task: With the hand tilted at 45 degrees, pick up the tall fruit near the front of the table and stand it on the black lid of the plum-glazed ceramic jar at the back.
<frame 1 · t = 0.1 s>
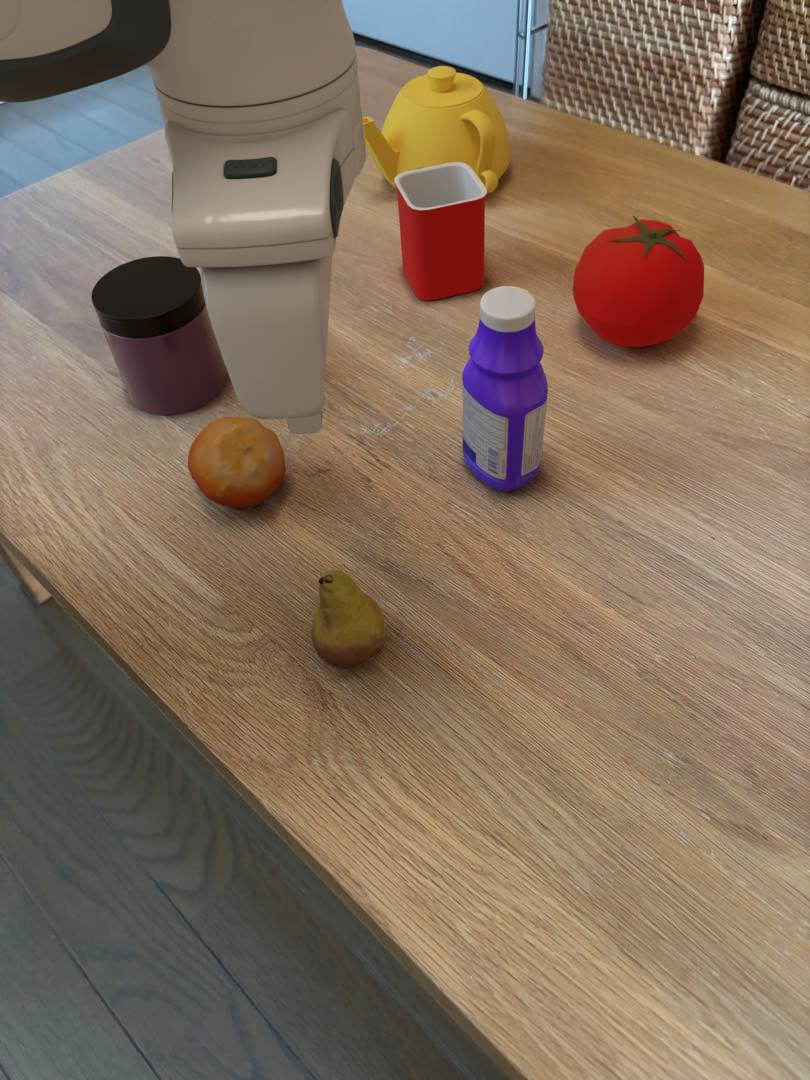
hand: (311, 369, 50), 23 cm above the table, tool pointing down, fingers open, 8 cm apart
jar lid: (147, 290, 79), point 11 cm above the table, screwed on, not yet turned
fruit 2: (352, 650, 65), on the table
mug: (437, 269, 97), on the table
jar: (178, 381, 87), on the table
teapot: (438, 184, 109), on the table
tomato: (630, 328, 88), on the table
fruit: (245, 493, 76), on the table
bottle: (501, 470, 76), on the table
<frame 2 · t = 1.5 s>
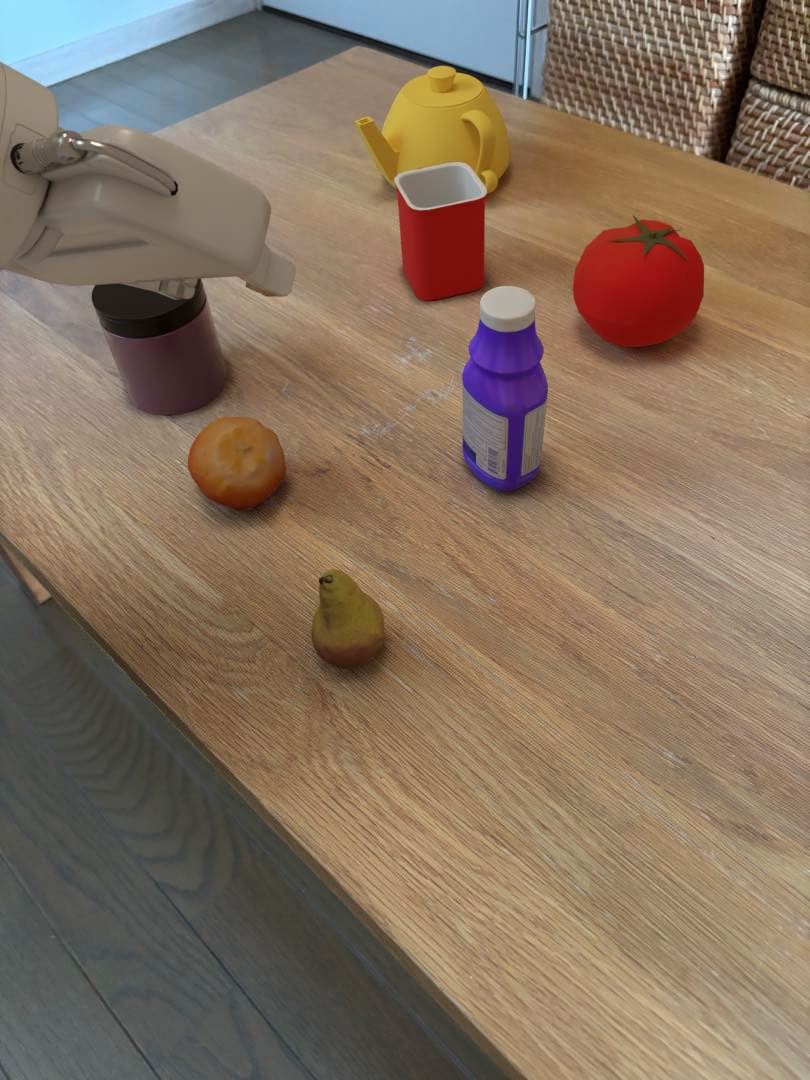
hand: (234, 285, 48), 28 cm above the table, tool tilted 45°, fingers open, 8 cm apart
nothing on the table moved.
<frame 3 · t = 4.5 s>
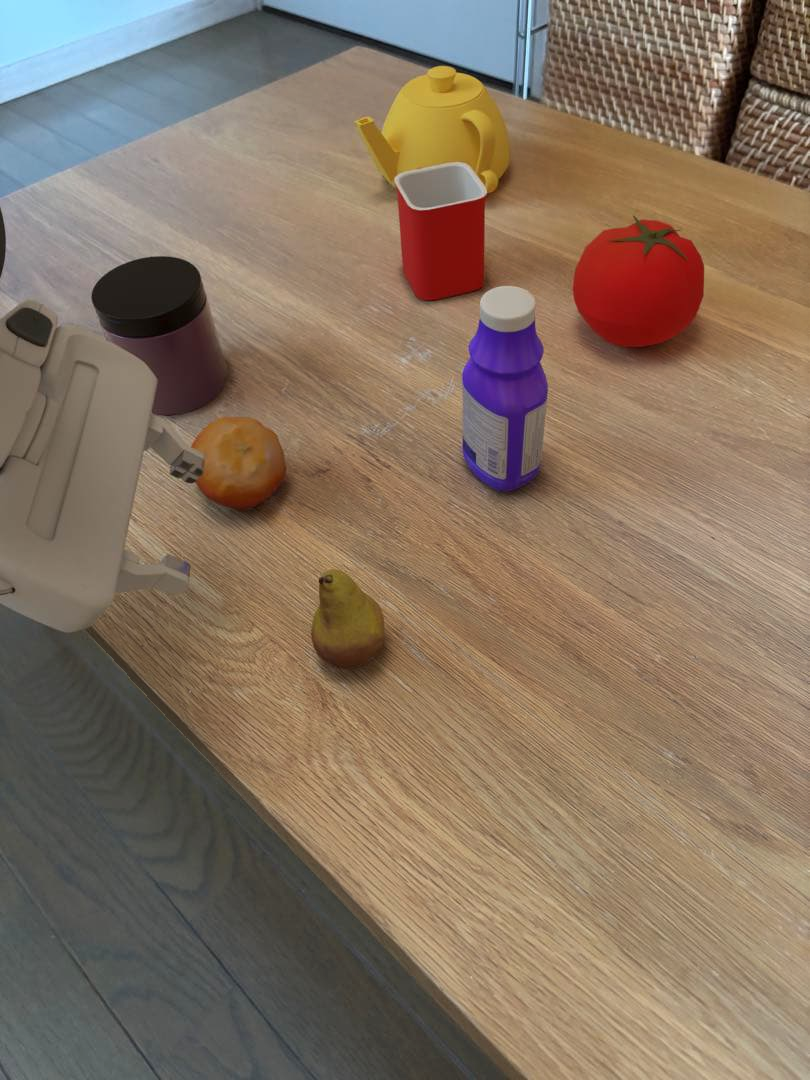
hand: (193, 523, 56), 14 cm above the table, tool tilted 45°, fingers open, 8 cm apart
nothing on the table moved.
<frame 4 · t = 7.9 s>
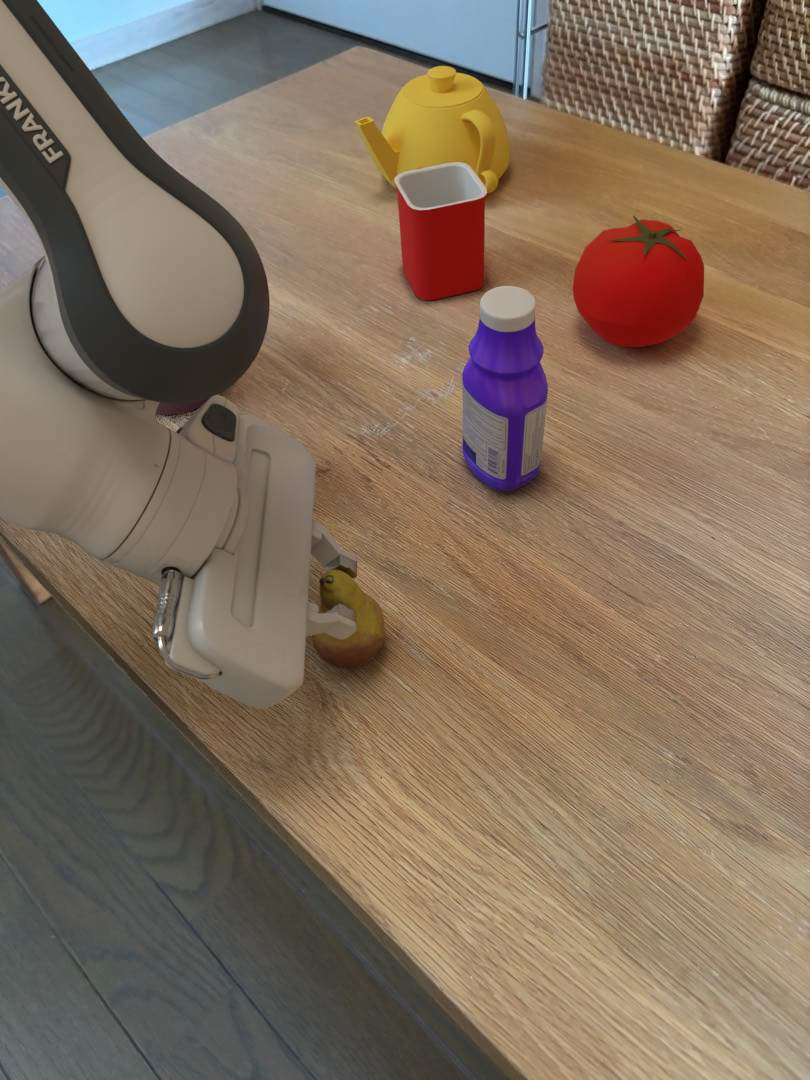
hand: (351, 598, 60), 6 cm above the table, tool tilted 45°, fingers closed on fruit 2, 3 cm apart
fruit 2: (352, 650, 65), on the table, touching gripper
everything else where it was.
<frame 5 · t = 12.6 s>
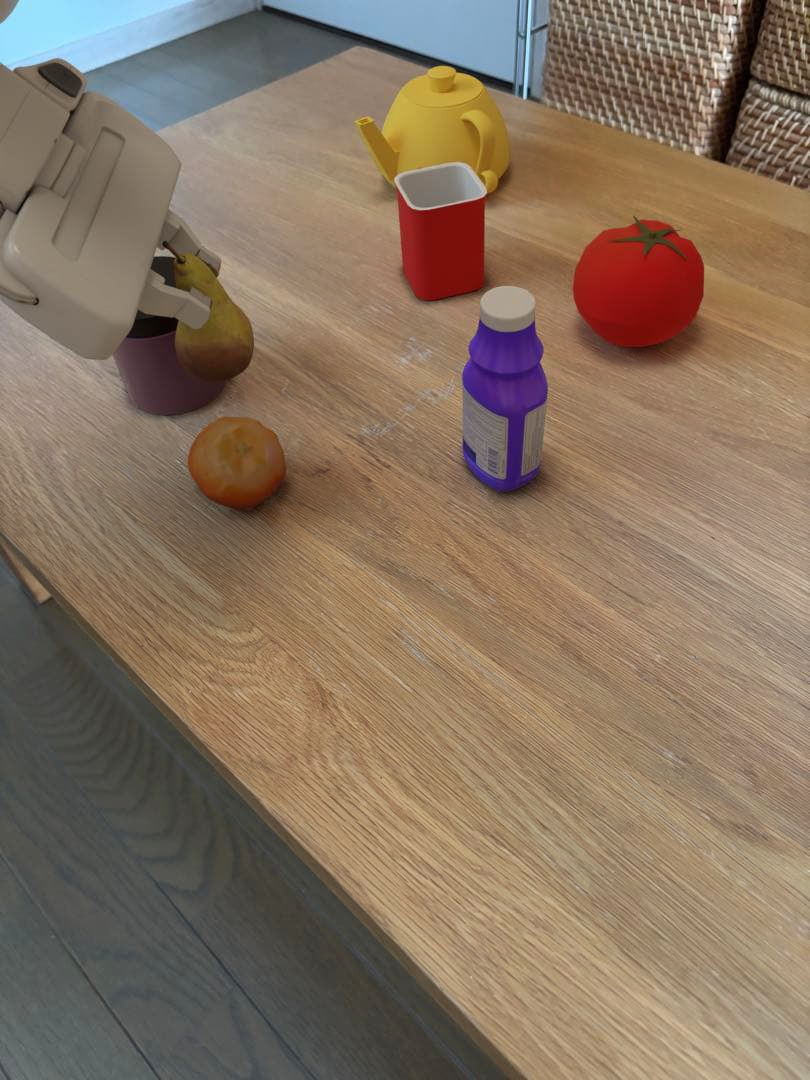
hand: (211, 294, 57), 22 cm above the table, tool tilted 45°, fingers closed on fruit 2, 3 cm apart
fruit 2: (223, 373, 62), point 16 cm above the table, touching gripper
everything else where it was.
when the fingers open (17 cm above the table, at t = 17.5 s): fruit 2 stays where it is, resting on jar lid.
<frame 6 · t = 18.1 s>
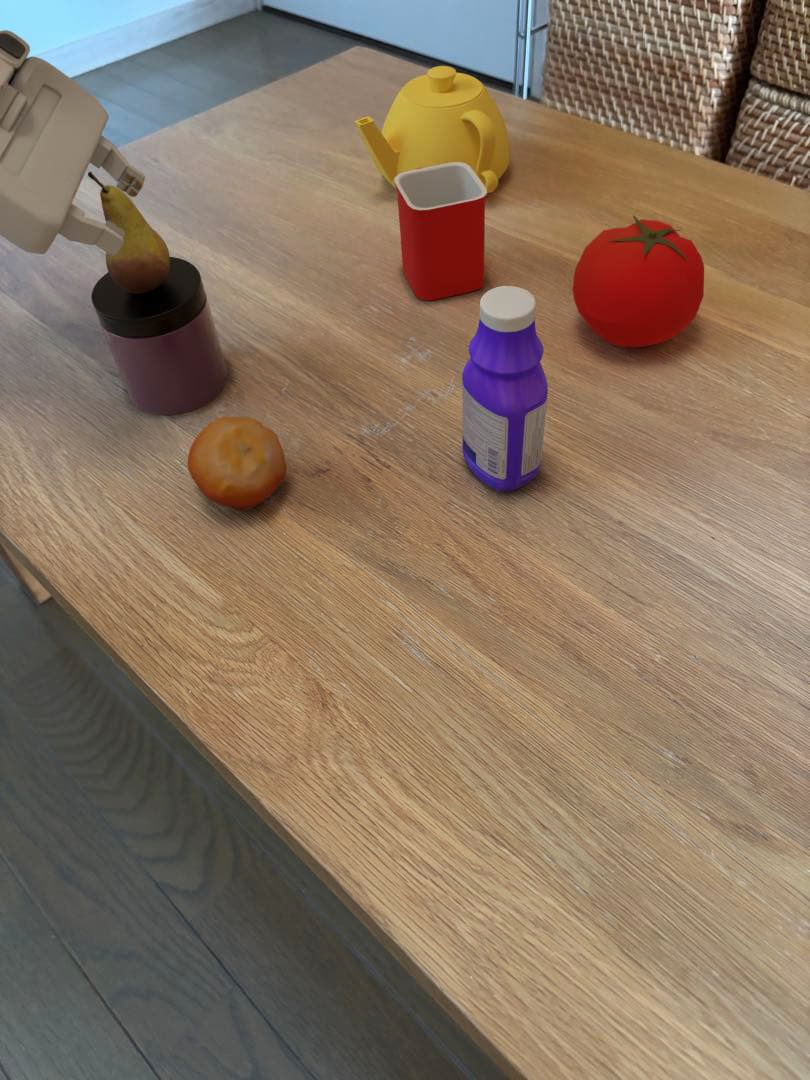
hand: (131, 215, 73), 18 cm above the table, tool tilted 45°, fingers open, 8 cm apart
jar lid: (147, 291, 79), point 11 cm above the table, screwed on, not yet turned, touching fruit 2
fruit 2: (147, 288, 78), point 11 cm above the table, touching jar lid
everything else where it was.
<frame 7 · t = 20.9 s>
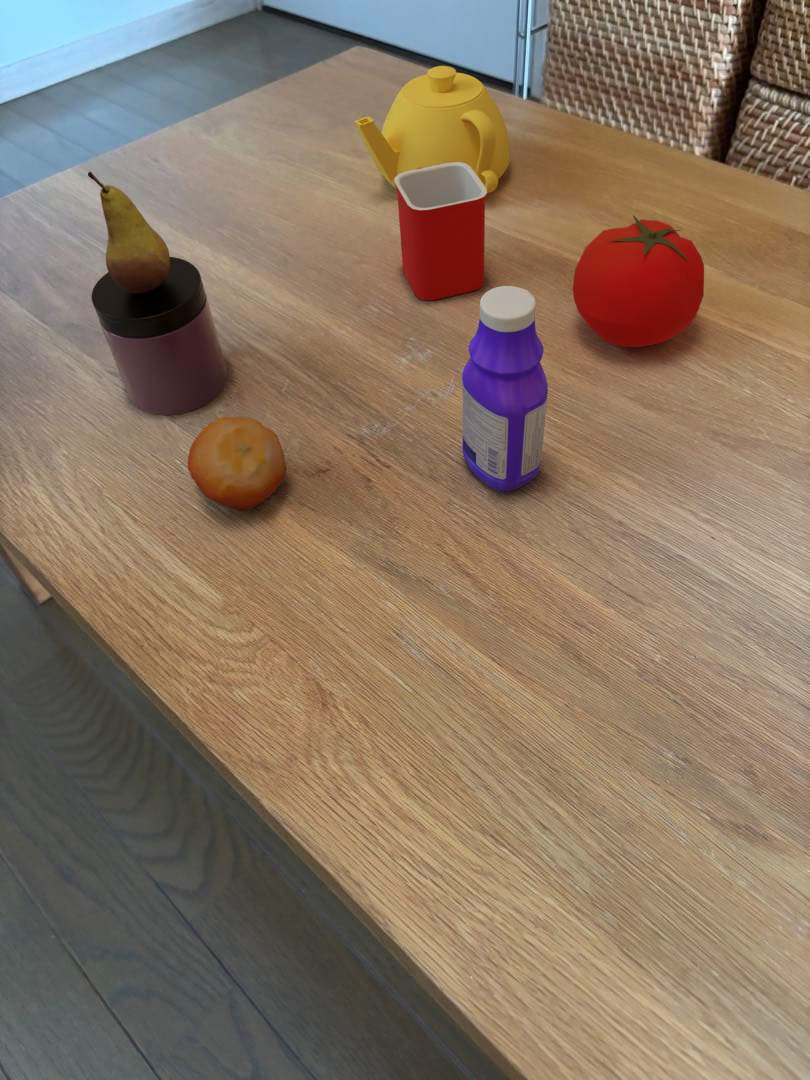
nothing on the table moved.
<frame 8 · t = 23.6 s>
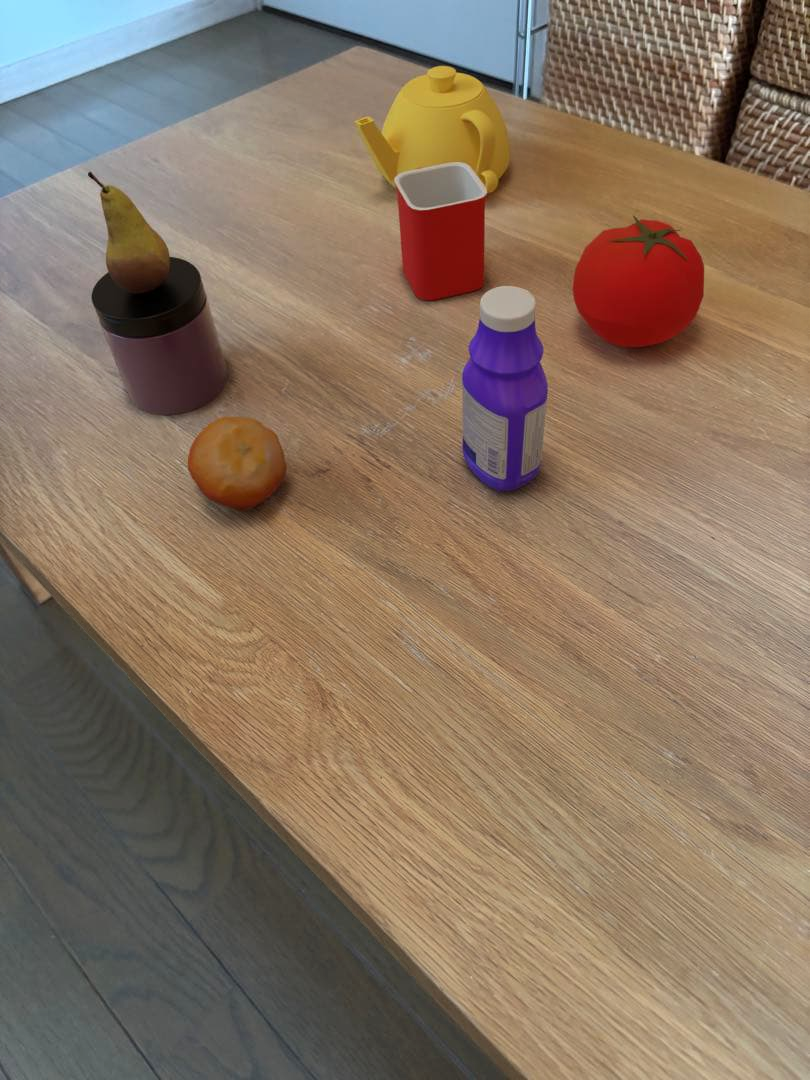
nothing on the table moved.
at the end: fruit 2 0.1 cm off-centre on the jar, point 10.9 cm above the jar's base; fruit 2 tilted 0°; the gripper is holding nothing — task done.
